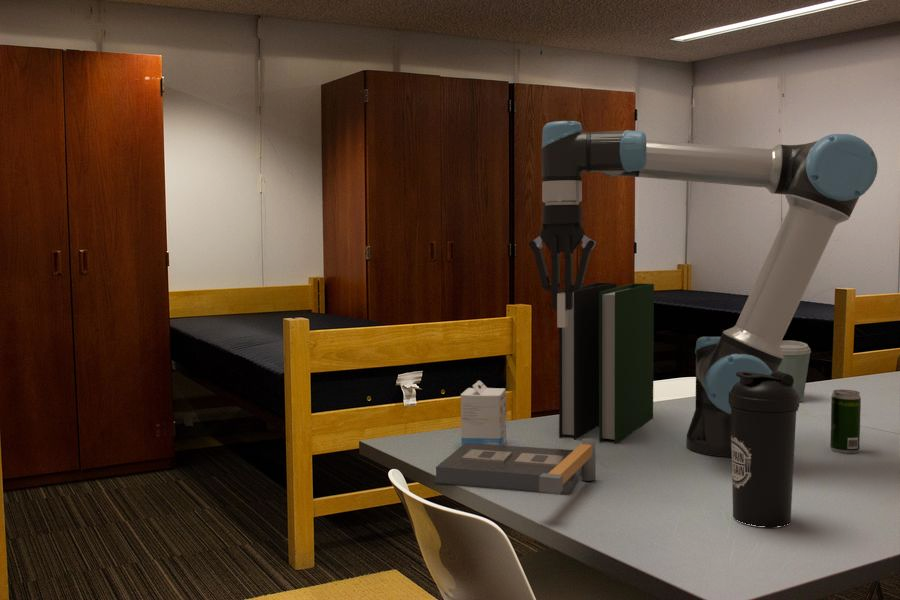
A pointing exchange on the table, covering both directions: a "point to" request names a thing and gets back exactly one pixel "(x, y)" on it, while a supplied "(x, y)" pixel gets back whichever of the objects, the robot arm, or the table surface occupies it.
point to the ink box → (483, 415)
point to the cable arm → (570, 468)
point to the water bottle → (763, 447)
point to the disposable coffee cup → (795, 363)
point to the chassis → (502, 467)
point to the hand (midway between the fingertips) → (562, 326)
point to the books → (607, 361)
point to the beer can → (845, 421)
